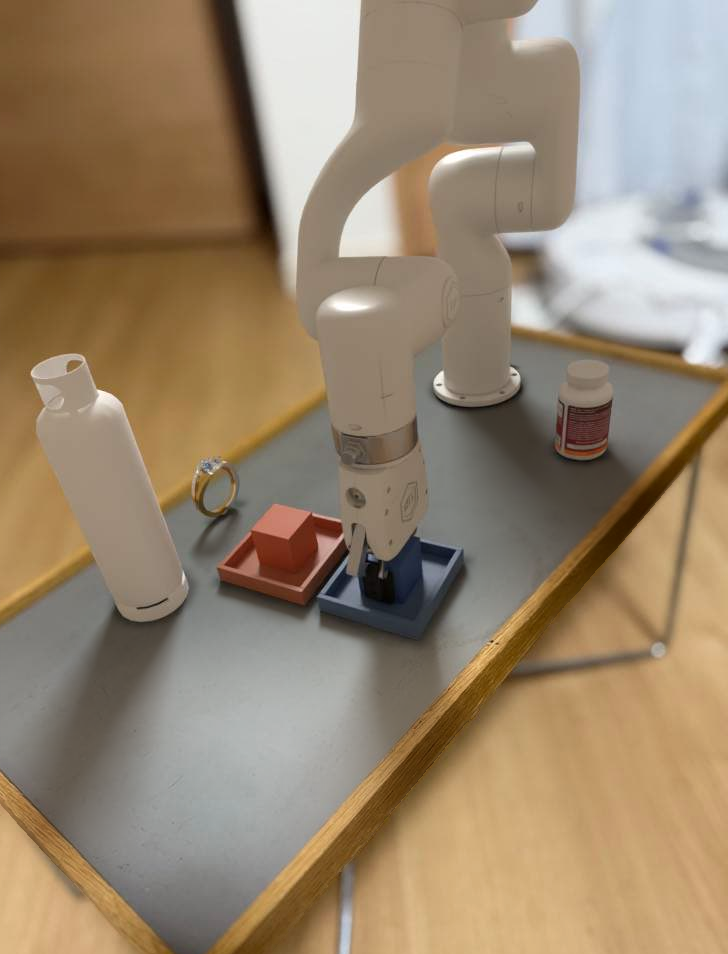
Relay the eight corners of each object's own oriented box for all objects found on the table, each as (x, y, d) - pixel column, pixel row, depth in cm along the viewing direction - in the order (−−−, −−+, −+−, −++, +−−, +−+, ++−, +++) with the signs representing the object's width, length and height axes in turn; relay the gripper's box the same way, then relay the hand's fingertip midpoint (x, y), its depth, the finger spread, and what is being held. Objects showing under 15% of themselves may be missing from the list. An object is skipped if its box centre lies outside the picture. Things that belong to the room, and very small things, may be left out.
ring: (235, 495, 92) (221, 443, 87) (251, 502, 90) (238, 450, 85) (194, 523, 88) (177, 470, 83) (210, 532, 86) (193, 478, 81)
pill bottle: (617, 448, 87) (628, 366, 80) (582, 468, 85) (591, 386, 78) (577, 430, 92) (585, 351, 85) (543, 448, 90) (548, 369, 83)
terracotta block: (282, 537, 83) (274, 503, 80) (318, 546, 80) (312, 512, 77) (259, 563, 80) (249, 529, 76) (296, 574, 77) (288, 539, 74)
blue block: (380, 562, 77) (376, 526, 74) (423, 573, 74) (420, 537, 71) (359, 592, 74) (354, 556, 70) (403, 604, 71) (399, 568, 68)
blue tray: (371, 539, 81) (369, 525, 80) (464, 561, 76) (463, 547, 74) (319, 610, 73) (316, 596, 72) (418, 640, 68) (417, 626, 67)
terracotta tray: (277, 516, 87) (274, 503, 85) (357, 536, 82) (355, 522, 80) (220, 580, 79) (216, 567, 78) (304, 606, 74) (301, 592, 73)
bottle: (102, 611, 78) (-9, 383, 60) (147, 565, 83) (56, 342, 65) (160, 629, 74) (59, 392, 57) (202, 579, 80) (122, 348, 62)
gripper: (370, 494, 55) (389, 648, 67) (450, 392, 66) (455, 540, 78) (290, 478, 59) (321, 627, 70) (379, 383, 70) (394, 526, 81)
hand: (392, 580), depth 74 cm, fingers closed on blue block, 5 cm apart
